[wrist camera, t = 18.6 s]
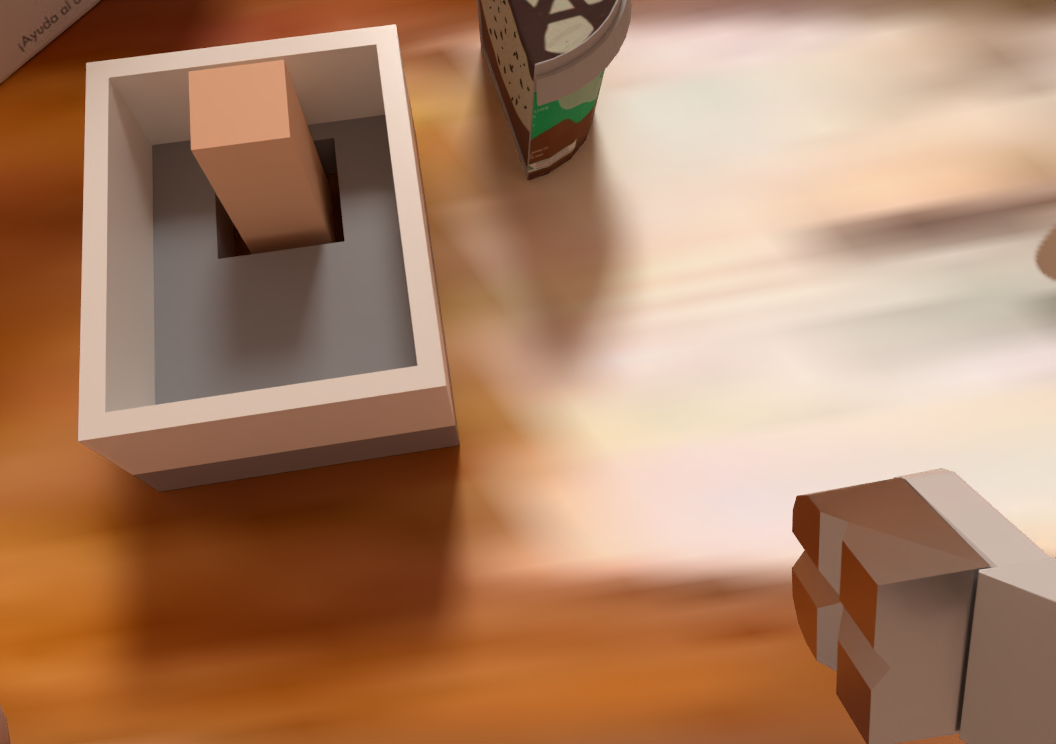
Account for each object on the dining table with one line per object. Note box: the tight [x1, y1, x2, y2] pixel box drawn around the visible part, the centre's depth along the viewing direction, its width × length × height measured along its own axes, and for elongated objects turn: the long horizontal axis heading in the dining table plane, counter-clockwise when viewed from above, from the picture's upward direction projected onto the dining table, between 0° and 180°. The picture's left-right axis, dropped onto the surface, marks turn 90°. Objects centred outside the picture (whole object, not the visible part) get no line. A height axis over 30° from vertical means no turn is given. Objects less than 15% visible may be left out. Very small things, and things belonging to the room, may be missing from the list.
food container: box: [477, 0, 632, 180], centre depth 45 cm, size 12×6×10 cm, turn 17°
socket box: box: [78, 24, 460, 492], centre depth 41 cm, size 14×18×8 cm
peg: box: [189, 60, 336, 254], centre depth 41 cm, size 4×4×10 cm
